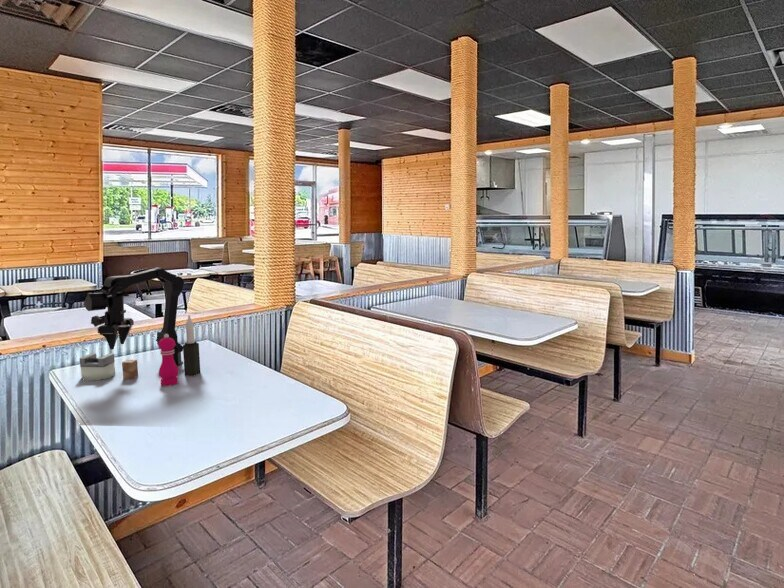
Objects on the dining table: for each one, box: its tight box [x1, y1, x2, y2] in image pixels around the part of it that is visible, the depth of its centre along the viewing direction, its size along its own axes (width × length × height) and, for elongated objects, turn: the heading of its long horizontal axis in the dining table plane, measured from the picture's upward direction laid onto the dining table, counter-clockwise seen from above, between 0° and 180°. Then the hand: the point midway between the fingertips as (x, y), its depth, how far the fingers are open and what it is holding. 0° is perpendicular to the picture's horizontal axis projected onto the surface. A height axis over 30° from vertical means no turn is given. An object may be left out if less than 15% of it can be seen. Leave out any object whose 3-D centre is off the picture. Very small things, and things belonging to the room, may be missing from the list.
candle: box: [182, 315, 201, 377], centre depth 208 cm, size 5×5×25 cm
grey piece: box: [80, 362, 116, 381], centre depth 206 cm, size 12×12×5 cm
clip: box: [79, 352, 116, 368], centre depth 205 cm, size 10×8×4 cm
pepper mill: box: [157, 334, 180, 386], centre depth 197 cm, size 7×7×20 cm
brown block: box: [121, 359, 139, 380], centre depth 204 cm, size 4×4×7 cm
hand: (117, 346), depth 201 cm, fingers open, 9 cm apart
